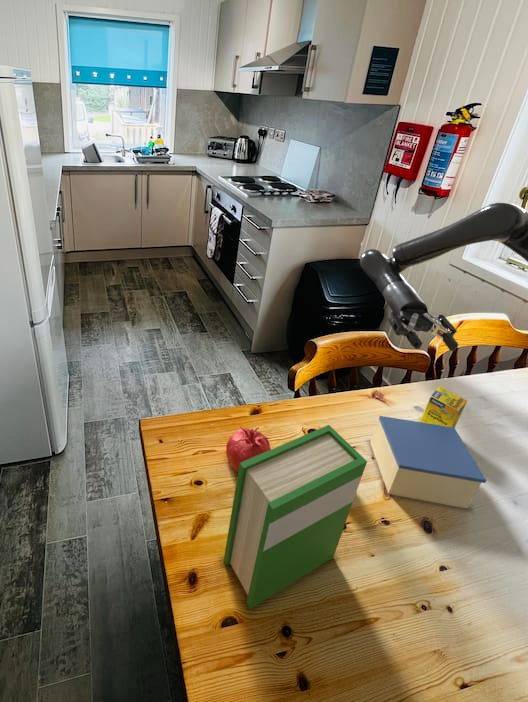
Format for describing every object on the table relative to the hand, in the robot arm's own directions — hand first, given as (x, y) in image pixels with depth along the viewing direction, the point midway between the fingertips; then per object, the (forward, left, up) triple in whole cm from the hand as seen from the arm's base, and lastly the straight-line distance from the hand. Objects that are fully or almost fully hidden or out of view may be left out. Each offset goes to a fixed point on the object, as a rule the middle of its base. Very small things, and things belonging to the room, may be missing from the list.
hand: (437, 347), depth 92 cm
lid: (+6, +19, -12) cm, 24 cm away
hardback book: (+36, +42, -20) cm, 59 cm away
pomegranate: (+41, +24, -20) cm, 52 cm away
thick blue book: (+6, +19, -20) cm, 28 cm away
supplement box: (-3, +6, -20) cm, 21 cm away
